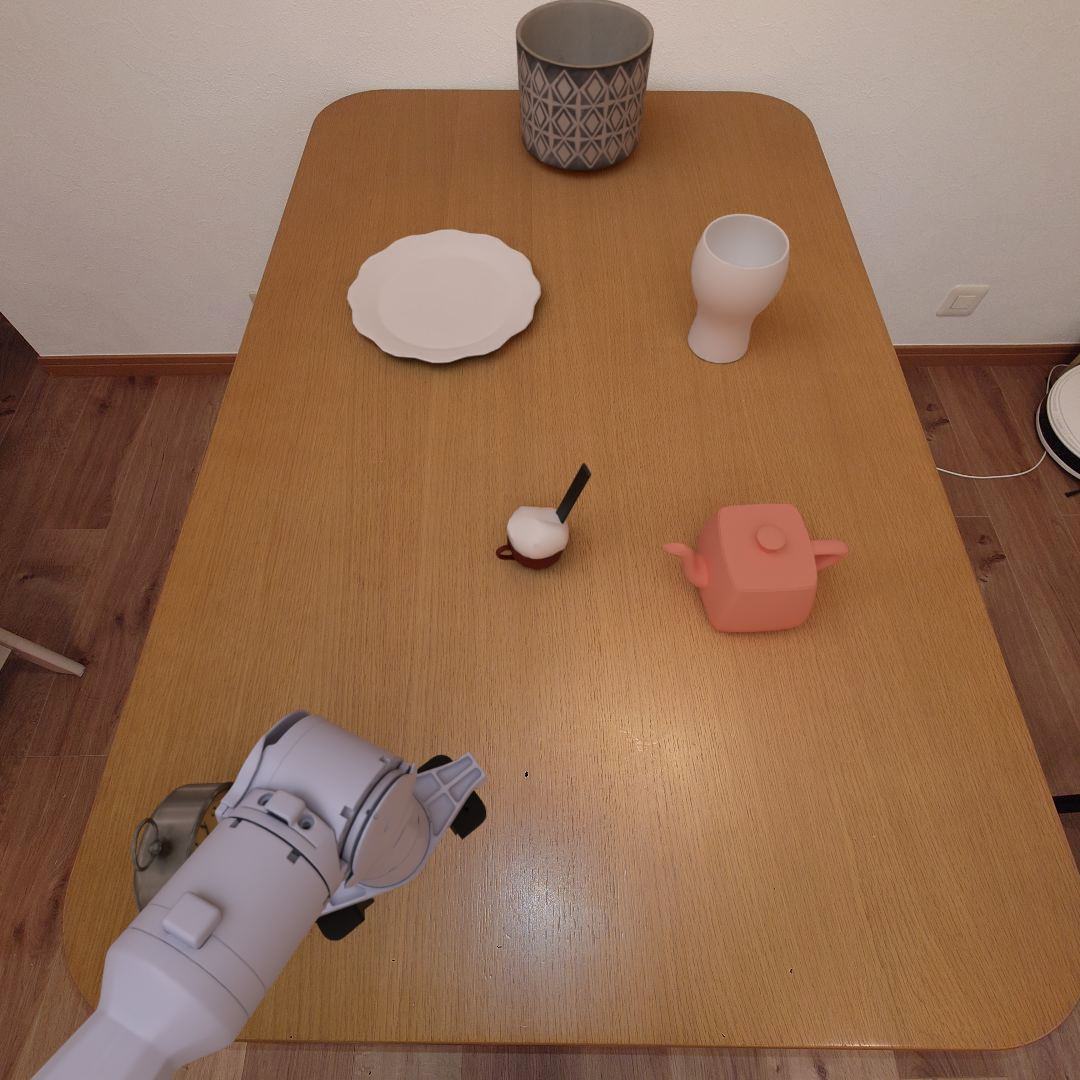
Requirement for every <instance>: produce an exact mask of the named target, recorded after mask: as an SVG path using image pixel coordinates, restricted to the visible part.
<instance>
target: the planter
mask: <svg viewBox="0 0 1080 1080" xmlns="http://www.w3.org/2000/svg"><path fill="white" fill-rule="evenodd" d="M654 38H655V31H654V27H653V24H652V23H651V22H650V20H649V19H648V18H647V16H645V15H644V14H643V13H641V12H640V11H638V10H636V9H635V8H633V7H631V6H629V5H626V4H624V3H621V2H617V1H614V0H553V1H549V2H547V3H544V4H542V5H541V4H540V5H538V6H536V7H534V8H533V9H531V10H530V11H527V12H526V14H524V15H523V16H522V17H521V18H520V20H519V21H518V23H517V25H516V28H515V43H516V64H517V65H516V66H517V81H518V102H519V118H520V119H519V120H520V136H521V141H522V144H523V146H524V148H525V149H526V151H527V152H528V153H529V154H530V155H531V156H532V157H533V158H534V159H536V160H537V161H539V162H540V163H543V164H544V165H547V166H548V167H552V168H556V169H559V170H563V171H564V170H565V171H570V172H592V171H598V170H599V171H600V170H603V169H608V168H610V167H614V166H615V165H618V164H620V163H621V162H623V161H625V160H626V159H627V158H629V157H630V156H631V155H632V154H633V152H634V151H635V149H636V148H637V146H638V144H639V141H640V135H641V128H642V121H643V114H644V109H645V108H644V107H645V101H646V100H645V99H646V94H647V87H648V79H649V73H650V66H651V60H652V52H653V45H654Z"/></svg>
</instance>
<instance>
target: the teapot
mask: <svg viewBox="0 0 1080 1080" xmlns="http://www.w3.org/2000/svg"><path fill="white" fill-rule="evenodd" d="M696 539H697V540H696V542H695V551H694V550H693V548H692V547H691V546H689V545H688V544H686V543H682V542H669V543H665V544H664V545H663V546H662V549H663V551H664V552H665V553H667V554H669V555H673V556H676V557H678V558H679V559H680V564H681V565H680V566H681V571H682V573H683V575H684V578H685V579H686V581H688V582H689V584H691V585H693V586H695V587H697V588H698V590H699V593H700V597H701V600H702V603H703V607H704V610H705V612H706V616H707V618H708V620H709V622H710V624H711V626H712V627H713V628H714V629H715V630H716V631H717V632H720V633H760V632H773V631H783V630H788V629H789V630H790V629H793V628H796V627H799V626H801V625H803V624H804V623H805V622H806V620H807V619H808V616H809V615H810V613H811V611H812V608H813V606H814V603H815V599H816V594H817V589H818V579H819V578H818V572H819V571H822V570H825V569H827V568H829V567H831V566H834V565H836V564H838V563H839V562H841V561H842V560H843V559H845V558H846V557H847V556H848V555H849V553H850V548H849V547H850V546H849V544H848V543H846V542H845V541H843V540H840V539H827V538H826V539H811V538H810V536H809V532H808V530H807V527H806V524H805V522H804V519H803V517H802V515H801V513H800V511H799V509H798V508H797V506H795V505H794V504H793V503H784V502H783V503H781V502H779V503H777V502H776V503H751V504H750V503H749V504H737V505H728V506H727V505H726V506H722V507H721V508H719V509H717V510H716V512H714V514H712V516H710V517H709V519H708V520H707V521H706V522H705V524H703V526H702V528H701V530H700V531H699V534H698V535H697V538H696Z"/></svg>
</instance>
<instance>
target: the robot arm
mask: <svg viewBox="0 0 1080 1080" xmlns="http://www.w3.org/2000/svg"><path fill="white" fill-rule="evenodd" d="M233 782H234V784H233V786H232V787H231V789H230V790H229V792H228V793H227V794H226V795H225V796H224V798H223V799H222V800H221V803H220V805H219V806H218V808H217V809H216V810H215V815H216V819H217V822H218V825H217V826H216V827H215V828H214V830H213V831H212V832H211V833H210V834H209V835H208V836H207V838H206V839H205V840H204V841H203V842H202V843H201V844H200V845H199V847H198V848H197V849H196V850H195V851H194V852H193V853H192V855H191V856H190V857H189V858H188V859H187V860H186V861H185V862H184V864H183V865H182V866H181V867H180V868H179V869H178V870H177V872H176V873H175V874H174V875H173V876H172V877H171V878H170V880H169V881H168V882H167V883H166V884H165V885H164V886H163V887H162V889H161V890H160V891H159V892H158V893H157V894H156V895H155V897H154V898H153V899H152V900H151V901H150V902H149V903H148V904H147V906H146V907H145V908H144V909H143V910H142V911H141V913H140V914H139V915H138V914H137V916H136V917H135V918H134V919H133V920H132V922H130V923H129V925H128V926H127V927H126V928H125V929H124V930H123V931H122V933H121V934H120V935H119V936H118V937H117V938H116V939H115V941H114V942H113V943H112V944H111V945H110V946H109V947H108V950H107V951H106V955H105V958H104V965H103V973H102V981H101V987H100V995H99V1001H98V1004H97V1008H96V1009H95V1010H94V1012H92V1014H91V1015H90V1016H89V1017H88V1018H87V1019H86V1020H85V1021H84V1022H83V1023H82V1025H80V1026H79V1028H77V1030H76V1031H74V1032H73V1034H72V1035H71V1036H70V1037H69V1038H68V1039H67V1040H66V1041H65V1042H64V1043H63V1044H62V1045H61V1047H59V1049H57V1051H56V1052H55V1053H54V1054H53V1055H52V1056H51V1057H50V1058H49V1059H48V1060H47V1061H46V1062H45V1063H44V1064H43V1065H42V1066H41V1068H40V1069H39V1070H37V1072H36V1073H35V1074H34V1075H33V1076H32V1077H30V1079H29V1080H171V1079H172V1077H173V1075H174V1074H175V1073H176V1071H178V1070H179V1069H180V1068H181V1067H183V1066H185V1065H188V1064H190V1063H192V1062H195V1061H196V1060H199V1059H201V1058H204V1057H206V1056H210V1055H212V1054H214V1053H217V1052H219V1051H222V1050H223V1049H226V1048H228V1047H229V1046H231V1045H232V1044H233V1043H234V1042H235V1041H236V1039H237V1038H238V1036H239V1035H240V1033H242V1030H243V1029H244V1027H245V1026H246V1025H247V1023H248V1022H249V1020H250V1019H251V1017H252V1016H253V1014H254V1013H255V1011H256V1010H257V1009H258V1007H259V1005H260V1004H261V1002H262V1001H263V1000H264V998H265V997H266V995H267V994H268V992H269V991H270V989H271V988H272V986H273V985H274V983H275V982H276V980H277V979H278V977H279V976H280V974H281V973H282V972H283V970H284V969H285V967H286V966H287V964H288V963H289V962H290V960H291V958H292V957H293V955H294V954H295V952H296V951H297V950H298V948H299V947H300V945H301V944H302V942H303V941H304V939H305V938H306V936H307V935H308V933H309V932H310V931H311V930H312V927H314V925H315V924H316V925H317V928H318V929H319V930H320V932H321V934H322V935H323V937H324V938H325V939H327V940H329V941H332V942H333V941H334V942H338V941H341V940H343V939H344V938H345V937H346V936H348V935H350V933H352V932H353V931H354V930H355V929H357V928H358V927H359V926H360V925H362V924H363V923H364V922H365V921H366V915H365V913H366V910H367V909H368V908H369V907H371V906H372V905H373V904H374V903H375V899H374V898H376V897H378V896H381V895H383V894H387V893H389V892H392V891H395V890H397V889H400V888H402V887H404V886H406V885H408V884H409V883H410V882H411V881H413V880H414V879H415V878H416V877H418V875H419V874H420V873H421V872H422V871H423V869H424V868H425V866H426V865H427V864H428V862H429V860H430V859H431V857H432V856H433V854H434V852H435V851H436V849H437V848H438V846H439V844H440V843H441V841H442V840H443V838H444V837H445V835H446V833H447V832H448V830H449V829H450V830H451V832H452V833H453V834H454V835H455V836H457V835H458V836H459V837H460V839H461V840H462V841H463V840H465V838H467V837H468V836H470V835H471V834H472V833H473V832H474V831H475V830H477V829H478V828H479V827H480V826H482V825H483V823H484V822H485V820H486V819H487V815H488V813H487V808H486V807H487V806H486V805H485V803H484V802H483V800H482V798H481V797H480V796H479V794H478V793H477V791H476V790H480V789H481V788H482V787H483V786H485V784H487V783H488V782H489V778H488V776H487V773H486V772H485V770H484V769H483V767H482V766H481V764H480V763H479V762H478V760H477V759H476V758H475V757H474V755H473V753H471V751H467V752H465V753H464V754H462V755H461V756H459V757H458V758H456V759H455V760H453V759H452V758H451V757H450V756H448V755H446V754H437V755H434V756H433V757H430V759H428V760H427V761H426V762H425V763H423V764H422V765H421V766H420V767H418V764H417V762H416V761H413V763H410V762H408V761H405V759H404V758H403V757H401V756H400V755H398V754H396V753H394V752H393V751H390V750H388V749H386V748H384V747H382V746H380V745H378V744H377V743H375V742H373V741H370V740H368V739H367V738H364V737H363V736H361V735H359V734H357V733H355V732H353V731H351V730H349V729H347V728H345V727H343V726H341V725H339V724H337V723H335V722H334V721H332V720H330V719H328V718H326V717H324V716H322V715H320V714H316V713H315V714H311V713H310V711H308V710H306V709H301V708H300V709H295V710H293V711H291V712H289V713H287V714H286V715H284V716H283V717H281V718H280V719H279V720H278V721H277V722H275V723H274V724H273V725H272V726H271V727H270V728H269V730H267V731H266V732H265V733H264V734H263V735H262V736H260V738H259V740H258V741H257V742H256V743H255V745H254V746H253V747H252V749H251V751H250V752H249V754H248V756H247V757H246V759H245V761H244V762H243V764H242V766H241V768H240V770H239V772H238V774H237V776H236V779H235V781H233Z"/></svg>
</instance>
